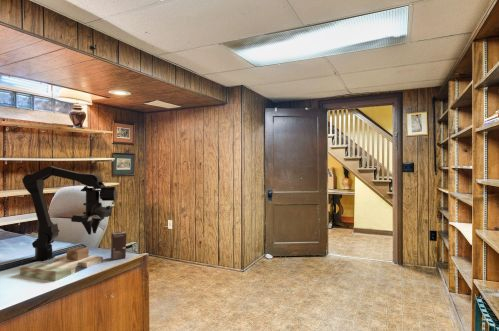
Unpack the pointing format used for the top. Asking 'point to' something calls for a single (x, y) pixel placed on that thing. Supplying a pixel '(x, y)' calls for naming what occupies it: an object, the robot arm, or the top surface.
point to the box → (118, 245)
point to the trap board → (59, 267)
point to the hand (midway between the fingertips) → (92, 233)
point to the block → (77, 253)
